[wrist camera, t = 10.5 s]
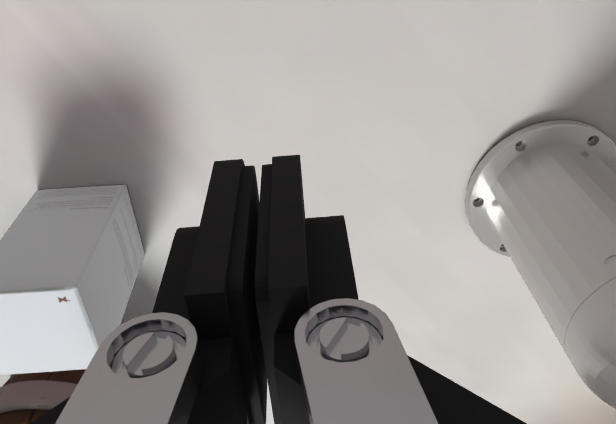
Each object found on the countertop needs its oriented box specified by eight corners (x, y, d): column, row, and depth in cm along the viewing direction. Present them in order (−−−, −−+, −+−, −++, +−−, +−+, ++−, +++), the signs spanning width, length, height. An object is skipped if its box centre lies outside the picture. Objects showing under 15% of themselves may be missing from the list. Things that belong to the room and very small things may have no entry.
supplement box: (34, 187, 43) (-47, 293, 33) (128, 182, 44) (78, 286, 33) (60, 261, 47) (-4, 377, 37) (147, 257, 47) (107, 371, 37)
